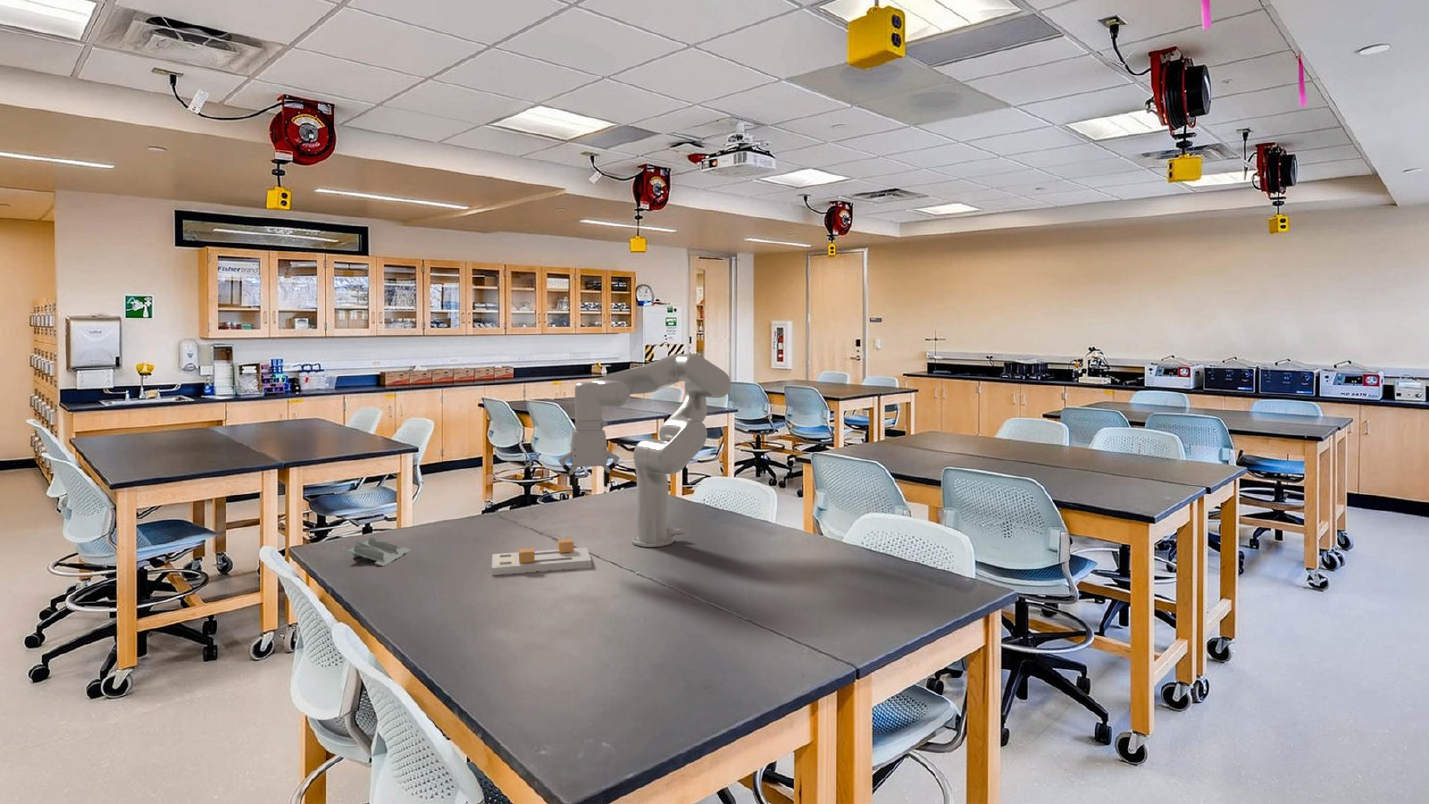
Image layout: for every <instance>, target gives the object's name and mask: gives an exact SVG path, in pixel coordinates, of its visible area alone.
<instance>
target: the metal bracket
mask: <svg viewBox="0 0 1429 804" xmlns="http://www.w3.org/2000/svg"><path fill="white" fill-rule="evenodd" d="M409 551H411V552H412V549H409V548H406V547H400V548H398V545H397V544H396V543H395V544H394V543H392V542H390V541H386V540H377V539H376V538H374V537H373V536H370V537H369V538H368V540H366V541H364V542H361V541H356V542H355V545H354V547H352V548H350V549H347V552H348V553H352V560H354V559H356V558H358V557H364V558H366V559H370V560H373V561H376V562H374V564H375V565H377V566H380V567H386V566H385V565H387V564H388V563H390V562H391V561H393V560H395V559H397V558H398V559H400V558H401V557H400V556H402V554H403V553H405V552H409ZM399 557H400V558H399ZM402 557H403V556H402ZM398 559H397V560H398ZM395 561H396V560H395ZM393 562H394V561H393ZM391 563H392V562H391ZM391 563H390V564H391ZM387 566H388V565H387Z"/></svg>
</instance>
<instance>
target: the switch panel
mask: <svg viewBox="0 0 1429 804" xmlns="http://www.w3.org/2000/svg"><path fill="white" fill-rule="evenodd" d="M491 556H492V557H491V558H492V559H491V560H492V561H491V576H501V575H502V574H503V575H513V574H514V573H515V574H525V573H526V572H528V573H536V571H540V572H551V570H553V571H563V570H562V569H565V570H572V569H573V570H575V569H576V570H577V569H587V568H588V569H589V568H592V559H591V556H590V554H589V551H588V547H576V548H574V552H561V553H559V550H558V548H557V549H546V550H534V556H535V562H526V563H519V551H518V552H507V553H492V555H491ZM548 570H550V571H548ZM515 574H514V575H515Z"/></svg>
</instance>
